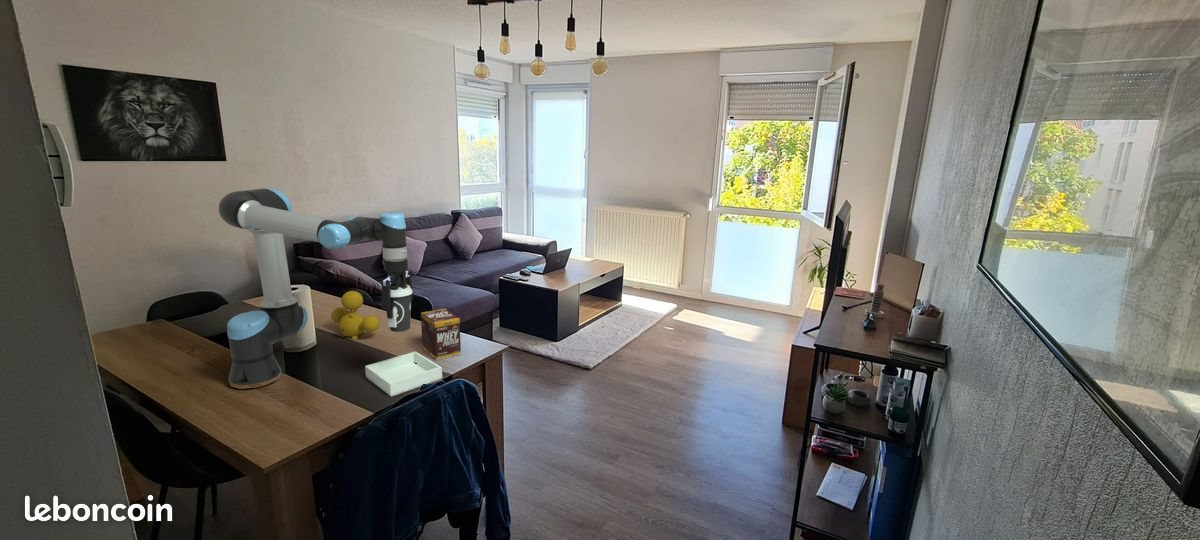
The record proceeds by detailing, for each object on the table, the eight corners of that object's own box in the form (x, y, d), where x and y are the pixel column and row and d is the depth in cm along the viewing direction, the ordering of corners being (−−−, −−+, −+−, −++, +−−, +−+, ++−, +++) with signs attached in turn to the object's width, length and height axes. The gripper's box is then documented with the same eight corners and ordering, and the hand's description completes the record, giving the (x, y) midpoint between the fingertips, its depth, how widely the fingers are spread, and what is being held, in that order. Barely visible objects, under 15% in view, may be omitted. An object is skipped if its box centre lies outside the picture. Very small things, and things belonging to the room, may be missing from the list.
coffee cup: (415, 331, 167) (413, 289, 164) (385, 334, 164) (382, 292, 160) (414, 322, 176) (411, 282, 172) (385, 325, 172) (382, 284, 168)
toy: (322, 333, 211) (317, 289, 206) (343, 326, 220) (339, 283, 215) (363, 346, 200) (360, 300, 195) (384, 338, 209) (381, 294, 204)
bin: (390, 396, 162) (390, 384, 161) (366, 377, 174) (365, 366, 173) (442, 378, 176) (441, 367, 175) (415, 362, 188) (415, 351, 187)
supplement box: (436, 361, 190) (434, 323, 186) (422, 347, 201) (420, 312, 197) (461, 354, 196) (460, 318, 193) (446, 342, 208) (445, 307, 204)
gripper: (386, 266, 153) (391, 334, 159) (422, 253, 173) (425, 314, 178) (365, 264, 155) (370, 331, 160) (403, 252, 174) (407, 312, 180)
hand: (399, 322), depth 169 cm, fingers closed on coffee cup, 7 cm apart
